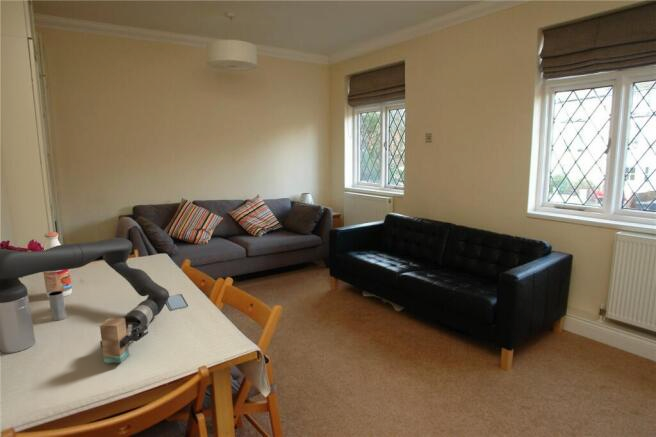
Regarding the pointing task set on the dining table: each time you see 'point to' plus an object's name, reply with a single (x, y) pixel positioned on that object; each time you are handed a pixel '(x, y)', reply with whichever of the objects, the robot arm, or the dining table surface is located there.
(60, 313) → the planter
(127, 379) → the dining table surface
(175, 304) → the smartphone
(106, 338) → the brown tall block
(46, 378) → the dining table surface
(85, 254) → the robot arm
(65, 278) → the white strawberry milk bottle
